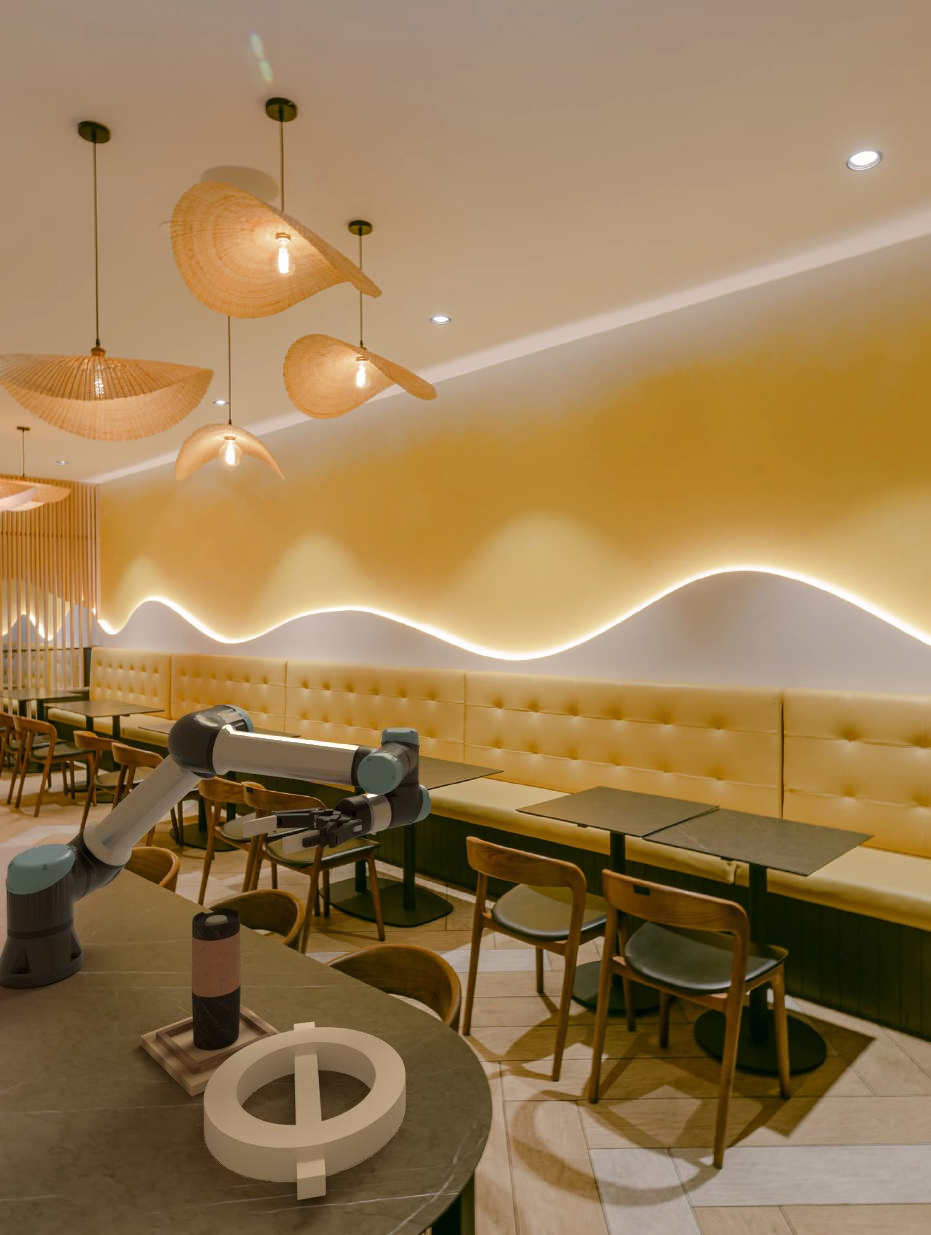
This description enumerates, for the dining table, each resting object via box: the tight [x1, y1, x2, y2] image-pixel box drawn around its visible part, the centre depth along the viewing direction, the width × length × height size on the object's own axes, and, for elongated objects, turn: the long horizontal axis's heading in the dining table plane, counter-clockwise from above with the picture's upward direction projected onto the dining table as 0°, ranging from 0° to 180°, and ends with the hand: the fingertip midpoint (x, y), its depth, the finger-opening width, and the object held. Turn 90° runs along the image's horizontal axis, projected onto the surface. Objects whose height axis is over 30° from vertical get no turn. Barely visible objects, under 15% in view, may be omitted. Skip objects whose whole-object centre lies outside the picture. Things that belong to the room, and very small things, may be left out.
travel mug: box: [191, 907, 242, 1050], centre depth 127 cm, size 8×8×20 cm
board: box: [139, 1002, 282, 1097], centre depth 127 cm, size 19×17×2 cm
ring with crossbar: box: [203, 1021, 407, 1201], centre depth 111 cm, size 28×28×5 cm
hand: (262, 837), depth 135 cm, fingers open, 13 cm apart
